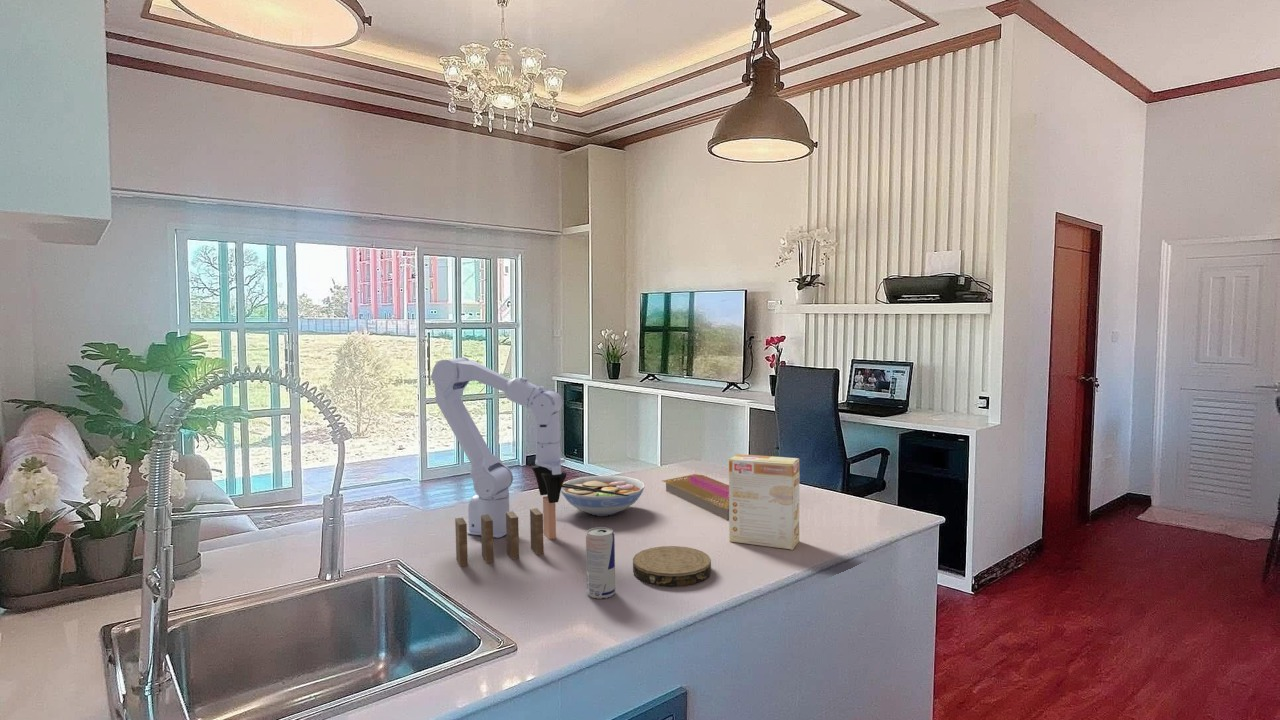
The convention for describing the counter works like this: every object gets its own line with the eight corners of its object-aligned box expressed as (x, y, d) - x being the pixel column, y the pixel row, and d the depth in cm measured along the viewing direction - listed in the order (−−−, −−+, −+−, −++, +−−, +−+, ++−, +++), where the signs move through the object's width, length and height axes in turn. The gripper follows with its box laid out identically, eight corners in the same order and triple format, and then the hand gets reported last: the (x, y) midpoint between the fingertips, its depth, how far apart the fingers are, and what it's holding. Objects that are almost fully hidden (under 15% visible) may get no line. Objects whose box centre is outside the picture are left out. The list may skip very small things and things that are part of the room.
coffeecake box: (800, 541, 159) (800, 457, 158) (793, 550, 152) (793, 463, 151) (737, 533, 165) (737, 452, 164) (728, 542, 159) (728, 458, 158)
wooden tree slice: (726, 577, 138) (726, 562, 138) (661, 595, 130) (661, 579, 130) (680, 554, 152) (680, 541, 152) (618, 569, 143) (618, 555, 143)
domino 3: (511, 558, 149) (510, 518, 149) (506, 551, 154) (505, 512, 153) (519, 557, 150) (518, 517, 149) (513, 550, 155) (512, 511, 154)
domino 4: (536, 555, 152) (535, 514, 151) (530, 548, 156) (530, 509, 156) (543, 554, 152) (542, 514, 152) (537, 547, 157) (536, 508, 156)
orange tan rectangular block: (549, 539, 162) (548, 501, 161) (543, 533, 167) (542, 496, 166) (555, 538, 163) (555, 501, 162) (550, 532, 167) (549, 496, 167)
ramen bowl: (665, 508, 187) (664, 478, 186) (617, 531, 167) (617, 498, 167) (590, 496, 200) (590, 468, 200) (538, 516, 181) (538, 485, 180)
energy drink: (619, 589, 132) (618, 528, 131) (609, 601, 127) (608, 537, 126) (593, 586, 134) (592, 525, 133) (582, 597, 129) (581, 534, 128)
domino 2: (486, 562, 147) (485, 521, 147) (481, 555, 152) (480, 515, 151) (493, 561, 148) (492, 520, 147) (489, 554, 152) (488, 514, 152)
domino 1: (460, 566, 145) (458, 524, 144) (456, 559, 150) (455, 518, 149) (467, 565, 146) (466, 523, 145) (463, 558, 150) (462, 517, 150)
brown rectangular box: (662, 492, 206) (661, 471, 205) (703, 486, 212) (703, 466, 212) (726, 523, 174) (726, 499, 174) (772, 515, 181) (772, 492, 180)
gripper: (573, 445, 158) (574, 503, 159) (555, 435, 171) (556, 489, 172) (543, 448, 155) (544, 507, 156) (527, 438, 168) (528, 492, 169)
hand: (549, 498), depth 164 cm, fingers open, 7 cm apart
